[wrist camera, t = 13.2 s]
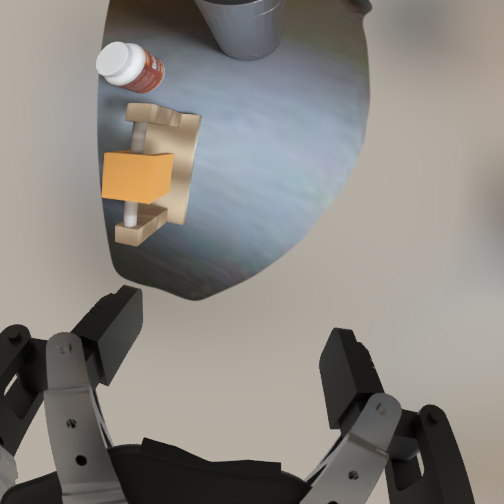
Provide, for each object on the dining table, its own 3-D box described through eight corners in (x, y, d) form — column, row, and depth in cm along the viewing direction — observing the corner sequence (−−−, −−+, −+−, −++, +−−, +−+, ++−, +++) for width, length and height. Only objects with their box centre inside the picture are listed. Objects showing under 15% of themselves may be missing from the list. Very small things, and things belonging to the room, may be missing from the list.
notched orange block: (131, 149, 31) (104, 152, 24) (174, 153, 31) (154, 156, 25) (128, 186, 33) (101, 197, 26) (169, 192, 33) (149, 204, 27)
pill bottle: (174, 73, 32) (143, 51, 22) (144, 101, 34) (106, 91, 24) (150, 51, 31) (116, 28, 20) (123, 79, 32) (83, 65, 22)
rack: (151, 112, 34) (109, 103, 23) (201, 116, 35) (174, 104, 24) (138, 213, 40) (98, 237, 29) (185, 221, 41) (156, 250, 29)
